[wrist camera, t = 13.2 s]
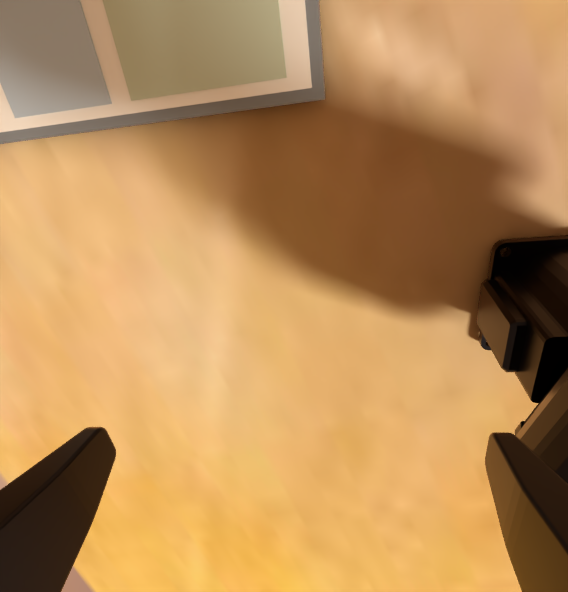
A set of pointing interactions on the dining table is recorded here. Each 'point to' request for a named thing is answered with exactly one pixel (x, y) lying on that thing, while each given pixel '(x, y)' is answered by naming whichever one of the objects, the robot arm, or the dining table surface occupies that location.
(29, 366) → the dining table surface
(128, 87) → the picture board
